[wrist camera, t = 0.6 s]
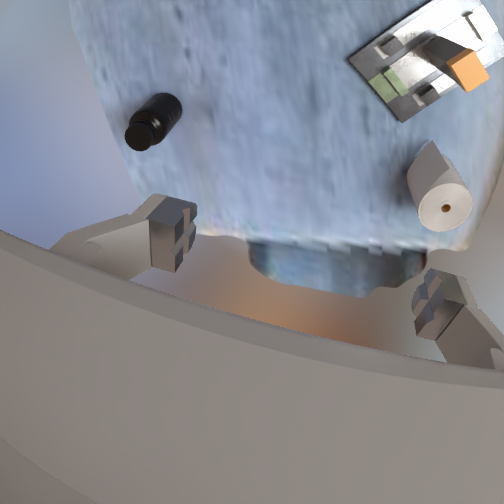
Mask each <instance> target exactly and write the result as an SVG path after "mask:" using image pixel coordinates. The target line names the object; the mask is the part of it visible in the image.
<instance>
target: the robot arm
mask: <svg viewBox="0 0 504 504" xmlns="http://www.w3.org/2000/svg"><path fill="white" fill-rule="evenodd" d="M196 216H197V205H196V203H193V202H189V201H185V200H181V199H177V198H173V197H168V196H166V195H161V194H153V195H152V196H150V197H149V198H148V199H147V200H146V201H145V202H144V203H143V204H142V205H141V206H140V207H139V208H138V209H137V210H136V211H134V212H133V213H132V214H131V215H128V214H126V215H122V216H119V217H116V218H113V219H109V220H106V221H103V222H99V223H96V224H93V225H90V226H87V227H84V228H81V229H78V230H75V231H72V232H69V233H67V234H65V235H64V236H63V237H62V238H61V239H60V240H59V241H58V242H57V243H56V244H55V245H54V246H53V247H52V248H50V249H49V250H47V249H44V248H41V247H39V246H37V245H34V244H32V243H30V242H27V241H25V240H22V239H20V238H18V237H15V236H13V235H11V234H9V233H6V232H4V231H2V230H0V504H504V335H503V334H502V333H501V332H500V330H499V329H498V328H497V327H496V326H495V324H494V323H493V322H492V321H491V320H490V319H489V318H488V317H487V315H486V314H485V313H484V312H483V311H482V310H481V309H478V307H477V304H476V301H475V299H474V296H473V294H472V291H471V289H470V286H469V284H468V282H467V279H465V278H464V277H461V276H458V275H454V274H450V273H447V272H443V271H439V270H435V269H432V268H430V269H429V270H428V271H427V273H426V274H425V276H424V283H423V284H421V285H420V286H418V287H417V289H416V291H415V293H414V295H413V298H412V312H413V313H414V315H415V316H416V317H417V318H416V320H415V321H414V323H415V329H416V335H417V336H418V337H422V338H426V339H430V340H434V341H436V344H437V345H438V347H439V349H440V350H441V352H442V354H443V356H444V357H445V359H446V361H447V363H446V362H439V361H434V360H428V359H422V358H417V357H412V356H407V355H401V354H396V353H391V352H386V351H382V350H376V349H372V348H367V347H363V346H358V345H354V344H349V343H345V342H340V341H336V340H332V339H327V338H323V337H319V336H315V335H311V334H306V333H303V332H299V331H295V330H291V329H287V328H283V327H280V326H276V325H272V324H268V323H265V322H261V321H257V320H254V319H250V318H247V317H243V316H239V315H236V314H232V313H229V312H226V311H222V310H219V309H215V308H212V307H209V306H206V305H202V304H199V303H196V302H193V301H189V300H186V299H183V298H180V297H177V296H174V295H171V294H167V293H164V292H161V291H158V290H155V289H152V288H149V287H146V286H143V285H141V284H138V283H135V282H132V281H129V280H130V279H132V278H134V277H135V276H137V275H139V274H141V273H143V272H145V271H146V270H148V269H150V268H151V266H152V267H155V268H159V269H162V270H166V271H169V272H173V273H175V272H176V271H177V269H178V267H179V266H180V264H181V263H182V261H183V254H186V253H188V252H189V250H190V249H191V247H192V245H193V242H194V239H195V234H196V225H195V224H194V222H193V220H194V218H195V217H196Z"/></svg>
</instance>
